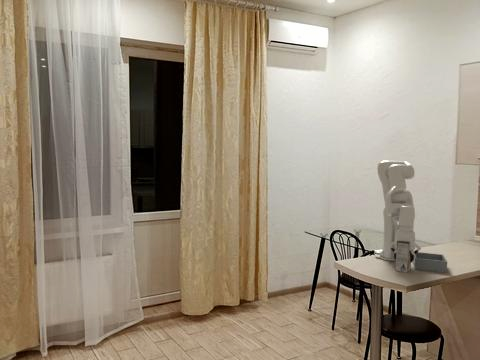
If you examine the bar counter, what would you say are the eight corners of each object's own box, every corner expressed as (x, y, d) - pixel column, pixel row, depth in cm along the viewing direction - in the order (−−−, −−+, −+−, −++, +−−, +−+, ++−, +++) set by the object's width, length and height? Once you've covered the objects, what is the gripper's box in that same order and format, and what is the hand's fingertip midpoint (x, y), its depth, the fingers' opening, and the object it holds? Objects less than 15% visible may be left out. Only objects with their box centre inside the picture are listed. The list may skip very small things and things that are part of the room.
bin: (414, 269, 240) (415, 258, 240) (412, 261, 255) (413, 251, 255) (446, 272, 235) (447, 261, 235) (442, 265, 250) (443, 254, 250)
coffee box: (398, 266, 244) (400, 238, 242) (410, 268, 240) (413, 239, 239) (394, 270, 236) (396, 241, 234) (407, 272, 232) (409, 242, 231)
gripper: (388, 228, 235) (386, 260, 237) (423, 231, 230) (421, 264, 231) (388, 225, 242) (386, 257, 244) (422, 228, 237) (420, 261, 239)
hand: (403, 260), depth 238 cm, fingers closed on coffee box, 7 cm apart
